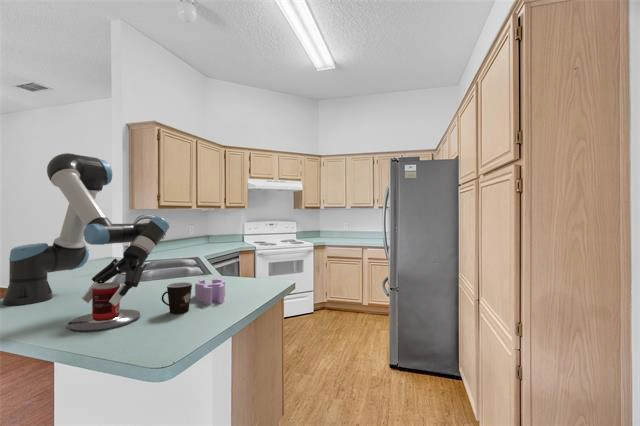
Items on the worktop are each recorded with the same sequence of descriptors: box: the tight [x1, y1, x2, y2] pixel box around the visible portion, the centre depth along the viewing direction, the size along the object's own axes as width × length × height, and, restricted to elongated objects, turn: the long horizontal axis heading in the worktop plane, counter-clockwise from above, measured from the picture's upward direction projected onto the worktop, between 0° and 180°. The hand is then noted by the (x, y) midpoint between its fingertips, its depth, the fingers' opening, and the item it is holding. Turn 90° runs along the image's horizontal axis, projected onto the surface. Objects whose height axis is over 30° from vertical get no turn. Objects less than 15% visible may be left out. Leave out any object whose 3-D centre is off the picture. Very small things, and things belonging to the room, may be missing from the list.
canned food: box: [91, 281, 121, 321], centre depth 105 cm, size 8×8×11 cm
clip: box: [194, 277, 226, 306], centre depth 134 cm, size 20×12×7 cm, turn 29°
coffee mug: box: [161, 281, 193, 315], centre depth 114 cm, size 12×9×10 cm
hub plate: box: [67, 308, 141, 333], centre depth 104 cm, size 20×20×1 cm
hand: (98, 302), depth 102 cm, fingers open, 11 cm apart
